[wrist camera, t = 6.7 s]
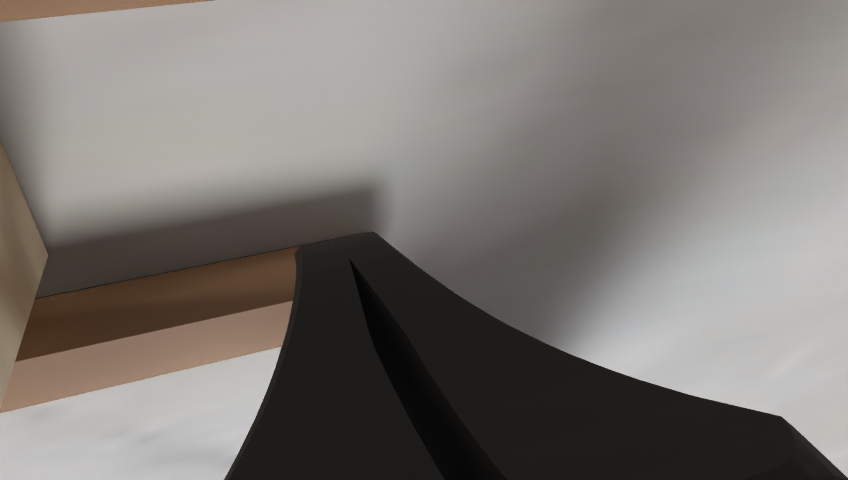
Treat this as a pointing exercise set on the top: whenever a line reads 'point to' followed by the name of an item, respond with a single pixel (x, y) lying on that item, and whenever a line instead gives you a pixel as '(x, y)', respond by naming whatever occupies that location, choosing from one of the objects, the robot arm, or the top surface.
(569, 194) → the top surface
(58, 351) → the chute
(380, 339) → the robot arm
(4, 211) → the block
